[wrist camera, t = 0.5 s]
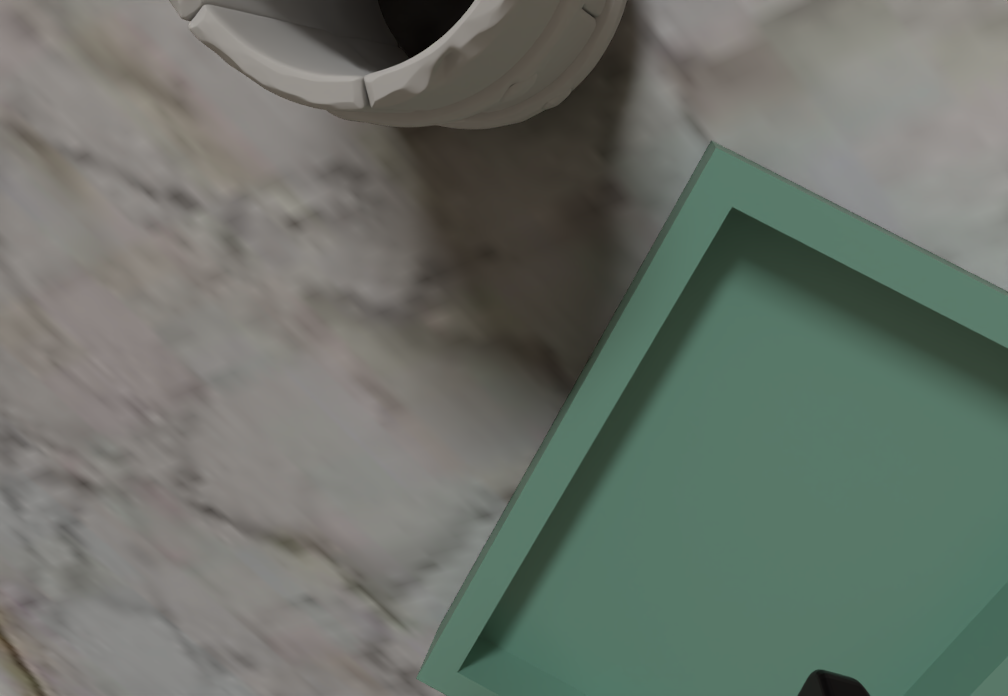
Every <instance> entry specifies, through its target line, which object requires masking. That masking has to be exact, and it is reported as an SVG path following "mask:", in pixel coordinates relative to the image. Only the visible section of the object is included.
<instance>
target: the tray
mask: <svg viewBox="0 0 1008 696" xmlns="http://www.w3.org/2000/svg"><path fill="white" fill-rule="evenodd" d="M817 669H823V670H827V671H830V672H834V673H838V674H842V675H845V676H849V677H852V678H854V679H856V680H858V681H859V682H860V683H861V684H862V685H863V686H864V687H865V689H866V690H867V691H868V693H869V694H870V696H1008V292H1007V291H1005V290H1003V289H1001V288H999V287H997V286H995V285H993V284H992V283H990V282H988V281H986V280H984V279H982V278H980V277H978V276H976V275H974V274H972V273H970V272H968V271H966V270H964V269H962V268H960V267H958V266H956V265H954V264H952V263H950V262H948V261H946V260H944V259H943V258H941V257H939V256H937V255H935V254H933V253H931V252H929V251H927V250H925V249H923V248H921V247H919V246H917V245H915V244H913V243H911V242H909V241H907V240H905V239H903V238H901V237H899V236H897V235H895V234H894V233H892V232H890V231H888V230H886V229H884V228H882V227H880V226H878V225H876V224H874V223H872V222H870V221H868V220H866V219H864V218H862V217H860V216H858V215H856V214H854V213H852V212H850V211H848V210H846V209H845V208H843V207H841V206H839V205H837V204H835V203H833V202H831V201H829V200H827V199H825V198H823V197H821V196H819V195H817V194H815V193H813V192H811V191H809V190H807V189H805V188H803V187H801V186H799V185H797V184H796V183H794V182H792V181H790V180H788V179H786V178H784V177H782V176H780V175H778V174H776V173H774V172H772V171H770V170H768V169H766V168H764V167H762V166H760V165H758V164H756V163H754V162H752V161H750V160H748V159H747V158H745V157H743V156H741V155H739V154H737V153H735V152H733V151H731V150H729V149H727V148H725V147H723V146H721V145H719V144H717V143H715V142H713V141H711V142H710V144H709V146H708V147H707V149H706V151H705V153H704V155H703V156H702V158H701V160H700V162H699V164H698V165H697V167H696V169H695V171H694V172H693V174H692V176H691V178H690V180H689V181H688V183H687V185H686V187H685V189H684V190H683V192H682V194H681V196H680V197H679V199H678V201H677V203H676V205H675V206H674V208H673V210H672V212H671V214H670V215H669V217H668V219H667V221H666V222H665V224H664V226H663V228H662V230H661V231H660V233H659V235H658V237H657V239H656V240H655V242H654V244H653V246H652V247H651V249H650V251H649V253H648V255H647V256H646V258H645V260H644V262H643V264H642V265H641V267H640V269H639V271H638V272H637V274H636V276H635V278H634V280H633V281H632V283H631V285H630V287H629V289H628V290H627V292H626V294H625V296H624V297H623V299H622V301H621V303H620V305H619V306H618V308H617V310H616V312H615V314H614V315H613V317H612V319H611V321H610V322H609V324H608V326H607V328H606V330H605V331H604V333H603V335H602V337H601V339H600V340H599V342H598V344H597V346H596V347H595V349H594V351H593V353H592V355H591V356H590V358H589V360H588V362H587V364H586V365H585V367H584V369H583V371H582V372H581V374H580V376H579V378H578V380H577V381H576V383H575V385H574V387H573V389H572V390H571V392H570V394H569V396H568V397H567V399H566V401H565V403H564V405H563V406H562V408H561V410H560V412H559V414H558V415H557V417H556V419H555V421H554V422H553V424H552V426H551V428H550V430H549V431H548V433H547V435H546V437H545V439H544V440H543V442H542V444H541V446H540V447H539V449H538V451H537V453H536V455H535V456H534V458H533V460H532V462H531V464H530V465H529V467H528V469H527V471H526V472H525V474H524V476H523V478H522V480H521V481H520V483H519V485H518V487H517V489H516V490H515V492H514V494H513V496H512V497H511V499H510V501H509V503H508V505H507V506H506V508H505V510H504V512H503V514H502V515H501V517H500V519H499V521H498V522H497V524H496V526H495V528H494V530H493V531H492V533H491V535H490V537H489V539H488V540H487V542H486V544H485V546H484V547H483V549H482V551H481V553H480V555H479V556H478V558H477V560H476V562H475V564H474V565H473V567H472V569H471V571H470V572H469V574H468V576H467V578H466V580H465V581H464V583H463V585H462V587H461V589H460V590H459V592H458V594H457V596H456V597H455V599H454V601H453V603H452V605H451V606H450V608H449V610H448V612H447V614H446V615H445V617H444V619H443V621H442V622H441V624H440V626H439V628H438V630H437V632H436V635H435V637H434V639H433V642H432V644H431V646H430V648H429V651H428V653H427V655H426V658H425V660H424V662H423V664H422V667H421V669H420V671H419V674H418V676H417V678H416V679H418V680H420V681H421V682H423V683H425V684H427V685H429V686H430V687H432V688H434V689H436V690H438V691H440V692H441V693H443V694H445V695H447V696H797V695H798V693H799V692H800V690H801V688H802V686H803V685H804V683H805V681H806V679H807V678H808V676H809V675H810V674H811V673H812V672H813V671H815V670H817Z"/></svg>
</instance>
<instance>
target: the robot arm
mask: <svg viewBox="0 0 1008 696" xmlns="http://www.w3.org/2000/svg"><path fill="white" fill-rule="evenodd" d="M797 696H870V694H869V693H868V691H867V690H866V689H865V687H864V686H863V685H862V684H861V683H860V682H859V681H858V680H856V679H854V678H852V677H849V676H845V675H842V674H838V673H834V672H830V671H827V670H823V669H817V670H815V671H813V672H812V673H811V674H810V675H809V676H808V678H807V679H806V681H805V683H804V685H803V686H802V688H801V690H800V692H799V693H798V695H797Z"/></svg>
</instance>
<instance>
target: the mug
mask: <svg viewBox="0 0 1008 696" xmlns="http://www.w3.org/2000/svg"><path fill="white" fill-rule="evenodd" d="M170 2H171V4H172V5H173V7H174V8H175V10H176V11H177V13H178V14H179V16H180V17H181V18H182V19H184V20H187V21H191V22H190V23H189V29H190V31H191V32H192V33H193V34H194V35H195V37H196V38H198V39H199V40H200V41H201V42H202V43H203V44H205V45H206V46H207V47H209V48H210V49H211V50H213V51H214V52H215V53H217V54H218V55H219V56H220V57H221V58H222V59H223V60H224V61H225V62H227V63H228V64H229V65H230V66H232V67H234V68H235V69H237V70H238V71H240V72H241V73H243V74H244V75H246V76H247V77H249V78H250V79H251V80H253V81H254V82H256V83H257V84H259V85H260V86H261V87H263V88H264V89H266V90H268V91H270V92H272V93H274V94H276V95H278V96H280V97H283V98H285V99H288V100H290V101H293V102H296V103H299V104H302V105H306V106H310V107H313V108H318V109H324V110H327V111H328V112H330V113H331V114H333V115H335V116H337V117H340V118H343V119H346V120H350V121H358V122H368V123H372V124H377V125H383V126H392V127H423V126H432V125H438V126H443V127H449V128H456V129H489V128H496V127H501V126H505V125H510V124H516V123H520V122H523V121H525V120H527V119H529V118H531V117H533V116H535V115H537V114H539V113H540V112H542V111H544V110H546V109H550V108H553V107H556V106H557V105H559V104H560V103H561V102H562V101H563V100H564V99H566V98H567V97H568V96H569V95H570V93H571V91H572V90H574V89H575V88H576V87H577V86H578V85H579V84H580V83H581V82H582V81H583V80H584V79H585V78H586V77H587V75H588V74H589V73H590V72H591V71H592V70H593V68H594V67H595V66H596V64H597V63H598V61H599V60H600V58H601V57H602V55H603V54H604V52H605V51H606V49H607V47H608V45H609V44H610V42H611V40H612V38H613V36H614V34H615V32H616V30H617V28H618V25H619V23H620V20H621V18H622V15H623V12H624V9H625V6H626V2H627V0H475V1H474V2H473V3H472V5H471V6H470V7H469V9H468V10H467V11H466V13H465V14H464V15H463V16H462V17H461V19H460V20H459V21H458V22H457V23H456V24H455V25H454V26H453V27H452V28H451V29H450V30H449V31H448V32H447V33H446V34H445V35H444V36H443V37H441V38H440V39H439V40H437V41H436V42H435V43H434V44H432V45H431V46H430V47H428V48H427V49H425V50H424V51H422V52H421V53H419V54H418V55H416V56H414V57H412V58H409V57H408V56H407V54H406V53H405V52H404V51H403V50H402V49H401V48H399V47H397V46H398V43H397V41H396V39H395V37H394V36H393V35H392V33H391V31H390V30H389V28H388V26H387V24H386V22H385V20H384V18H383V15H382V13H381V10H380V7H379V3H378V0H170Z"/></svg>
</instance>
